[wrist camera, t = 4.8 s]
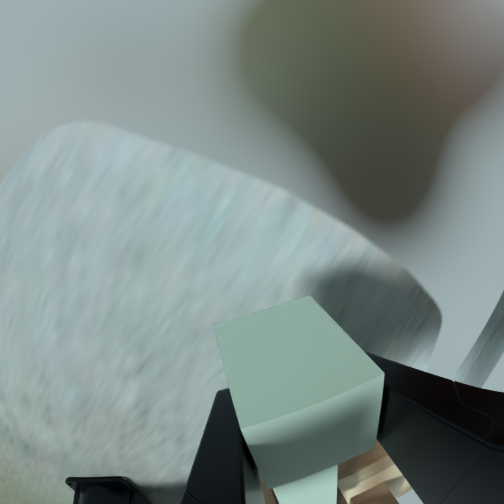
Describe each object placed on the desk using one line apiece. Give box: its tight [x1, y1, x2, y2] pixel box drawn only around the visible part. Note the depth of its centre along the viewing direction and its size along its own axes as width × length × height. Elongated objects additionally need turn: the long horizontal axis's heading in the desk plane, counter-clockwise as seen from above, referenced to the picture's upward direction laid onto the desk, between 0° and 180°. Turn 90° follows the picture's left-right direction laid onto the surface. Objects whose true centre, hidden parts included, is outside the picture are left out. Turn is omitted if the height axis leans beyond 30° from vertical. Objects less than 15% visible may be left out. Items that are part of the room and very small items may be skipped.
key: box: [213, 295, 385, 504], centre depth 10 cm, size 3×21×4 cm, turn 12°
